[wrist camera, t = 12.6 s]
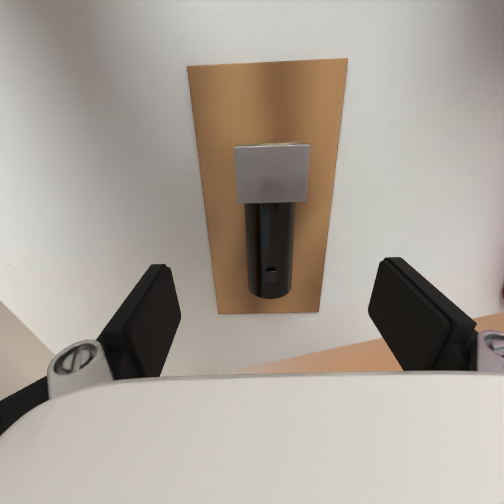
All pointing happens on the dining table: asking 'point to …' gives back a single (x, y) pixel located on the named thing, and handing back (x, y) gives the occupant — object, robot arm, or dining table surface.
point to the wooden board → (267, 130)
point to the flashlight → (270, 210)
